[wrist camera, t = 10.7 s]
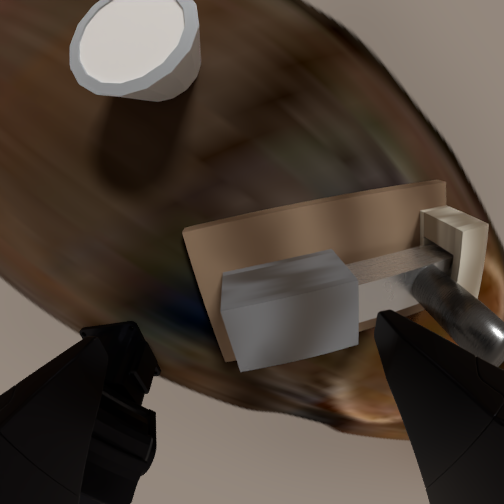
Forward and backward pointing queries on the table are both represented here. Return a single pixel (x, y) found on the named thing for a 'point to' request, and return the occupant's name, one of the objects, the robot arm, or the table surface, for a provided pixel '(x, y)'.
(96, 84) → the shot glass
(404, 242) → the base
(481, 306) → the dark knobbed lever handle
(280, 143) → the table surface
